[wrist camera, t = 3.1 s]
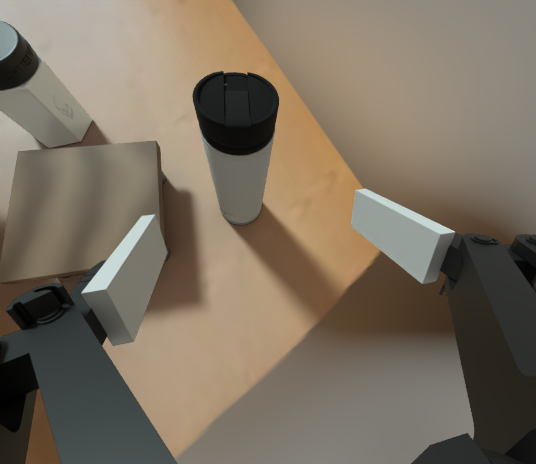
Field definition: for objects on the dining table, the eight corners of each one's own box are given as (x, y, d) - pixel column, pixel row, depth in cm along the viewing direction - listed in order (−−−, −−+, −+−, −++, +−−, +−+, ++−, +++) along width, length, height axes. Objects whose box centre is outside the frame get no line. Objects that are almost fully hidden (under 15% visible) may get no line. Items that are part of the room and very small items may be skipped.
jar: (77, 154, 34) (-8, 79, 23) (22, 143, 34) (-92, 62, 22) (100, 110, 37) (35, 24, 25) (50, 99, 36) (-39, 8, 25)
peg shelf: (46, 286, 28) (-4, 283, 22) (57, 177, 32) (18, 151, 27) (177, 266, 30) (161, 257, 25) (170, 166, 35) (156, 140, 29)
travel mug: (220, 228, 33) (187, 128, 14) (220, 189, 35) (190, 53, 16) (262, 226, 33) (286, 129, 14) (259, 188, 35) (277, 57, 16)
